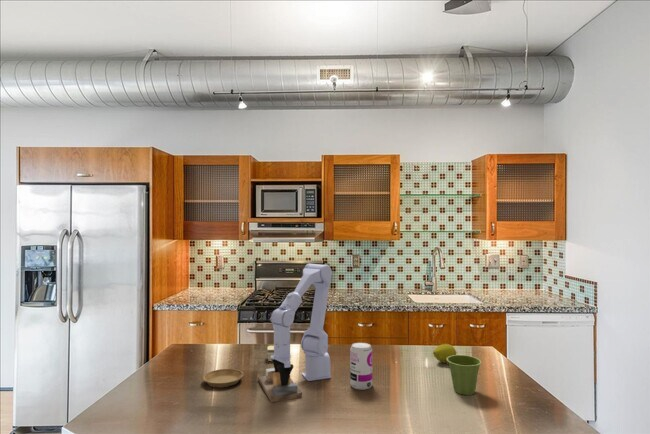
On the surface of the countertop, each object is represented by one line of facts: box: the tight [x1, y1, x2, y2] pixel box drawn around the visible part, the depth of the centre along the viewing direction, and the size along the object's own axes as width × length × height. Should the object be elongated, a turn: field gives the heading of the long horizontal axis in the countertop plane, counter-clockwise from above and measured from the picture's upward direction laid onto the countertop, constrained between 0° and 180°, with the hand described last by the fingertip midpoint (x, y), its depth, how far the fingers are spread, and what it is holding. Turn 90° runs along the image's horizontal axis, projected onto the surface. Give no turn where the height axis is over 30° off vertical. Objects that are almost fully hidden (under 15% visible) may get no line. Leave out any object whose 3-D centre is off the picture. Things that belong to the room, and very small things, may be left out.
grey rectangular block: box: [265, 367, 275, 382], centre depth 152 cm, size 7×3×4 cm, turn 112°
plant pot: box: [447, 354, 482, 396], centre depth 145 cm, size 12×12×11 cm
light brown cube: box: [273, 372, 291, 386], centre depth 144 cm, size 5×5×5 cm
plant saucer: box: [203, 368, 244, 388], centre depth 154 cm, size 15×15×3 cm
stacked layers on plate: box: [266, 345, 274, 362], centre depth 179 cm, size 10×9×6 cm
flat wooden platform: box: [257, 375, 303, 403], centre depth 147 cm, size 11×20×4 cm, turn 22°
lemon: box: [432, 343, 457, 364], centre depth 175 cm, size 11×8×8 cm
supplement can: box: [349, 342, 373, 391], centre depth 150 cm, size 8×8×15 cm
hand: (281, 381), depth 144 cm, fingers open, 6 cm apart
